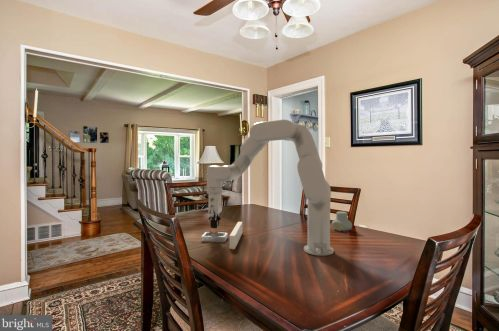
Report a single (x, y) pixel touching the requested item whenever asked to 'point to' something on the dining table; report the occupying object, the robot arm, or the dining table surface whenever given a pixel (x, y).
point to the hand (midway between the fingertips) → (214, 226)
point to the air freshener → (341, 222)
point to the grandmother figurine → (215, 230)
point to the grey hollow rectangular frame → (214, 237)
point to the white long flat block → (235, 235)
